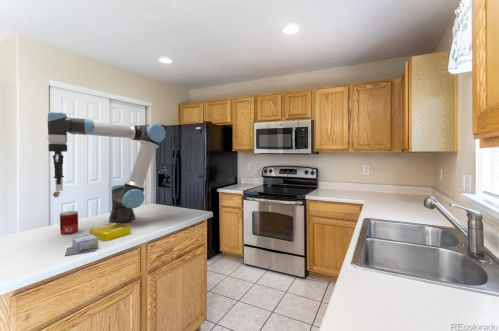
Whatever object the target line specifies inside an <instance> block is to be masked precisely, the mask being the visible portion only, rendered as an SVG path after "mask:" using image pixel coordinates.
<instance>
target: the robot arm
mask: <svg viewBox="0 0 499 331" xmlns="http://www.w3.org/2000/svg"><path fill="white" fill-rule="evenodd" d="M46 123H47V135H48V136H46V139H48V146H47V147H48V148H47V149H48V152H54V154H52V159H53V167H54V176H53V179H55V191H56V192H63V191H64V189H63V188H64V187H63V185H64V184H63V182H64V181H63V178H64V177H65V175H64V174H63V173H64V171H63V169H64V168H63V164H64V155H63V154H62V153H63V152H64V153H65V152H66V153H67V152H68V133H69V134H71V135H85V136H96V137H97V136H99V137H110V138H111V137H112V138H121V139H123V138H124V139H130V140H131V141H138V142H140V147H139V150H138V152H137V153H138V154H137V156H136V159H135V161H134V165H133V167H132V170H131V173H130V176H129V178H128V181H126V182H124V184H119V185H118V184H116V185H113V186H112V187H111V211H110V214H109V218H108V222H109V224H111V223H119V224H124V223H130V222H134V221H135V220H136V214H135V211H134V209H137V208H138V207H141V205H143V204H144V201H145V193H144V191H145V186H144V183H145V180H146V177H147V174H148V171H149V169H150V166H151V162H152V160H153V156H154V154H155V151H156V149H158V148H159V146H160V145H161V144H160V143H161V142H162V141H164V140H165V138H166V135H167V134H166V133H167V132H166V130H165V128H164V126H163V125H162V124H159V123H157V122H156V123H154V122H151V123H148V124H140V125H133V124H131V125H130V126H128V125H120V124H110V123H100V122H94V120H93V119H89V118H88V119H87V118H78V117H68V116H67V113H66V112H61V111H50V112H48V113H47V120H46Z"/></svg>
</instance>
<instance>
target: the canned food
mask: <svg viewBox="0 0 499 331" xmlns="http://www.w3.org/2000/svg"><path fill="white" fill-rule="evenodd" d="M59 227H60V228H59V229H60V234H61V235H63V236H65V235H72V234H76V233H78V232H79V213H78V211H77V210H70V211H69V210H68V211H67V210H66V211H63V212H61V213H59Z"/></svg>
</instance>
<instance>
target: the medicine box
mask: <svg viewBox="0 0 499 331" xmlns="http://www.w3.org/2000/svg"><path fill="white" fill-rule="evenodd" d="M71 242H72V243H71V244H72V246H71V247H73V248H74V249H75V250H77V251H78V252H81V251H84V250H88V249H92V248H95V249H97V248H99V240H98V238H97V237H95V236H93V235H92V234H90V233H89V234H86V235H80V236H77V237H72V240H71Z"/></svg>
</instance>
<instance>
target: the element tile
mask: <svg viewBox="0 0 499 331" xmlns="http://www.w3.org/2000/svg"><path fill="white" fill-rule="evenodd" d="M89 234H92V235H93V236H95V237H97V238H98V241H103V242H108V241H111V240H115V239H117V238H122V237H124V236H128V235H131V226H130V225H128V224H124V223H108V224H103V225H99V226H95V227H92V228H90V229H89Z"/></svg>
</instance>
